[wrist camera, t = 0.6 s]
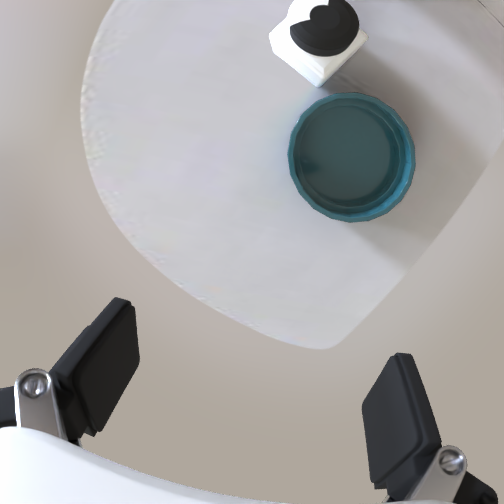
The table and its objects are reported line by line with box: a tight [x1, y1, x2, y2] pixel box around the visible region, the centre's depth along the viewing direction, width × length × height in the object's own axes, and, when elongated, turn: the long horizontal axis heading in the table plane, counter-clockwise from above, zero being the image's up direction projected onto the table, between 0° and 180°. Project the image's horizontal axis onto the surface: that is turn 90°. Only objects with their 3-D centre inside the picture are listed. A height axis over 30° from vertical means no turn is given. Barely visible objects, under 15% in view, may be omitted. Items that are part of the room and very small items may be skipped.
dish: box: [287, 92, 416, 223], centre depth 32 cm, size 14×14×4 cm
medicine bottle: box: [269, 0, 368, 88], centre depth 24 cm, size 7×7×12 cm
